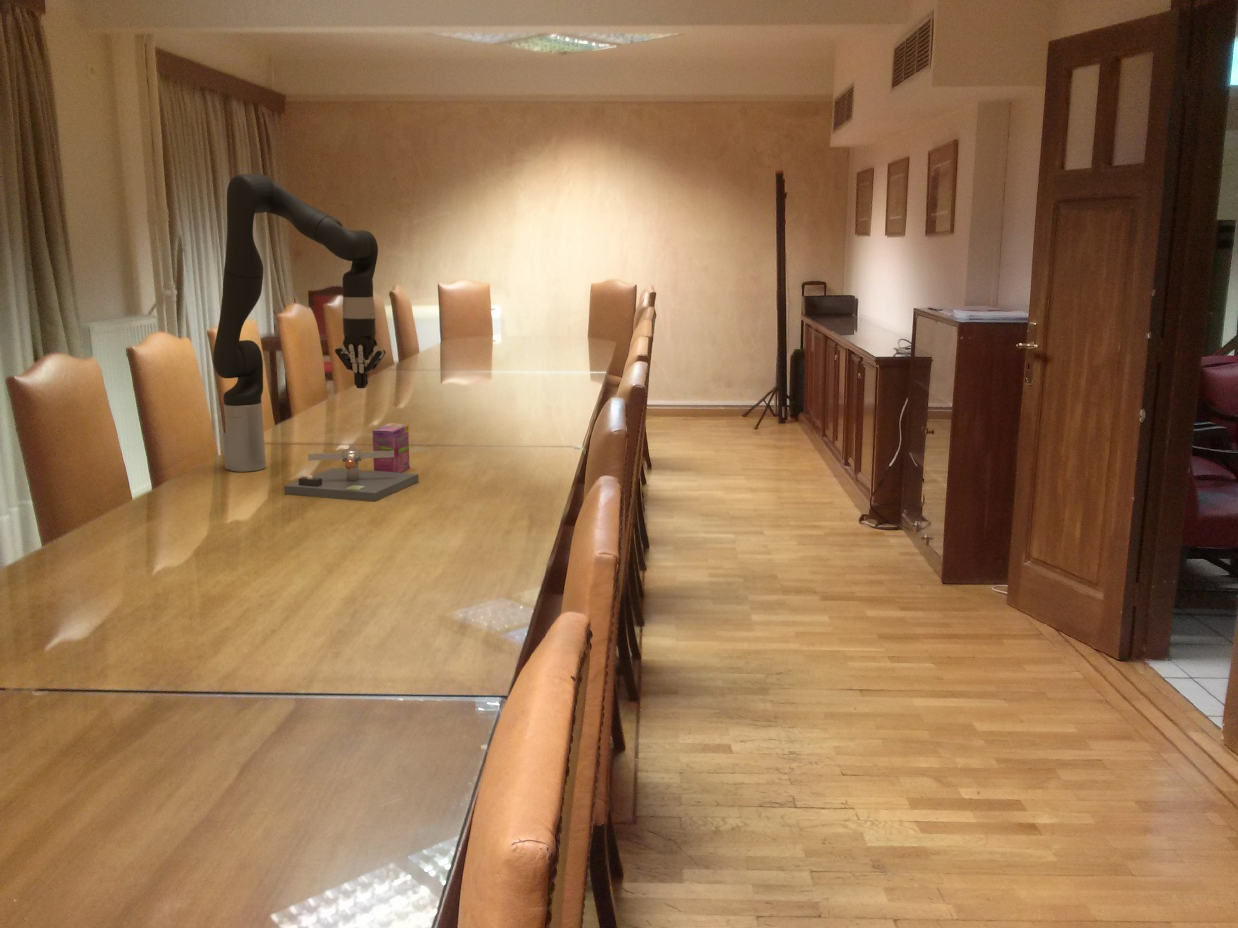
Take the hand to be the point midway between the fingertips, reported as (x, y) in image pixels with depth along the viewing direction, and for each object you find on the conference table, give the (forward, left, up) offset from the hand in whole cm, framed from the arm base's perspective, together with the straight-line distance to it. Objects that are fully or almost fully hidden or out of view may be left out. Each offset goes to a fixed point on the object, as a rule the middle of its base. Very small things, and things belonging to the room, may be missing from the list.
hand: (361, 387), depth 261 cm
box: (0, +13, -24) cm, 27 cm away
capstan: (0, -7, -17) cm, 18 cm away
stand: (0, -6, -24) cm, 24 cm away
